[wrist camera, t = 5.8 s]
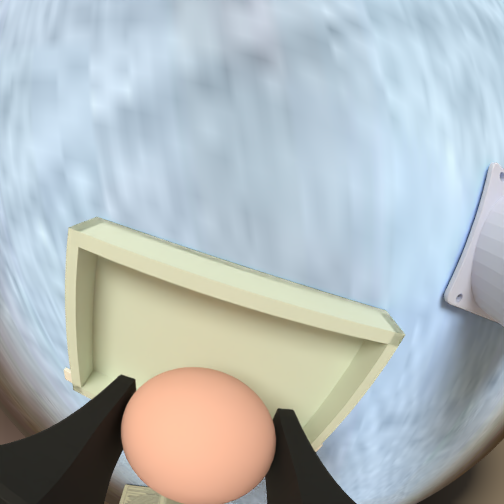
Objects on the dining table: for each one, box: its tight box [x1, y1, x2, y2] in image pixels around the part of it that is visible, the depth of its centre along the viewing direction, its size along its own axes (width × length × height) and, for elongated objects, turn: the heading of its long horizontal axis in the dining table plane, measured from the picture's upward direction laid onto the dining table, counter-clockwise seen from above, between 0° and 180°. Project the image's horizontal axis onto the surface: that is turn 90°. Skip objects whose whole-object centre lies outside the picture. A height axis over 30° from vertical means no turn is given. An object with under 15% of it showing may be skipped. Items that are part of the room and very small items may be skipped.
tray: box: [65, 217, 405, 451], centre depth 11 cm, size 14×10×2 cm
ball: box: [121, 367, 276, 504], centre depth 8 cm, size 6×6×6 cm
